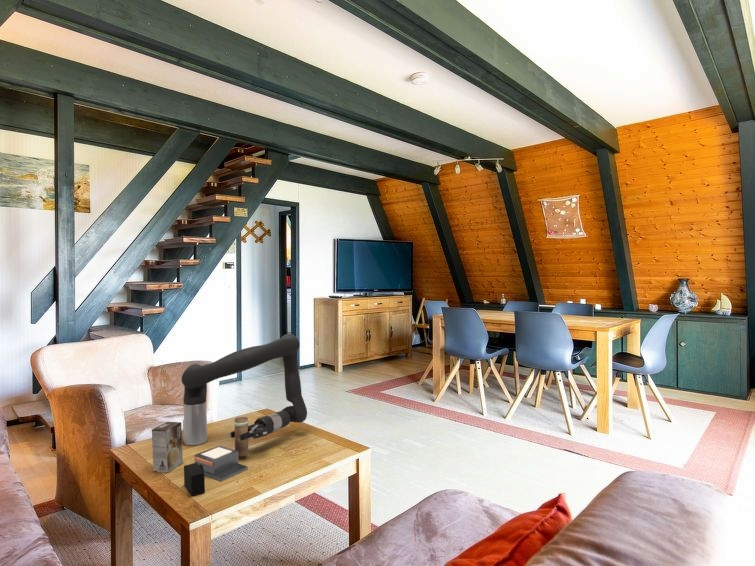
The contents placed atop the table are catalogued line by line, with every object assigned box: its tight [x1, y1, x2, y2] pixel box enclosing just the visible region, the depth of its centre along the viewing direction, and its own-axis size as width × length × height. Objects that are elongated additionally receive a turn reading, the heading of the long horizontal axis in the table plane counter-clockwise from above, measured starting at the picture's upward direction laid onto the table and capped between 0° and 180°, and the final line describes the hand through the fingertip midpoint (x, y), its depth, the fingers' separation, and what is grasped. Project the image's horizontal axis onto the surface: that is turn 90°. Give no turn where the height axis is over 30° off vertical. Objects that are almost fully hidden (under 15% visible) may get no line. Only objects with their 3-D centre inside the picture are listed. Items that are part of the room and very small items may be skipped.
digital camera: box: [183, 462, 206, 497], centre depth 159 cm, size 10×5×7 cm, turn 35°
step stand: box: [192, 444, 249, 482], centre depth 175 cm, size 20×12×6 cm, turn 57°
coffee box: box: [151, 421, 184, 473], centre depth 176 cm, size 9×6×16 cm
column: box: [233, 416, 249, 457], centre depth 184 cm, size 5×5×14 cm
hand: (236, 436), depth 182 cm, fingers closed on column, 5 cm apart
